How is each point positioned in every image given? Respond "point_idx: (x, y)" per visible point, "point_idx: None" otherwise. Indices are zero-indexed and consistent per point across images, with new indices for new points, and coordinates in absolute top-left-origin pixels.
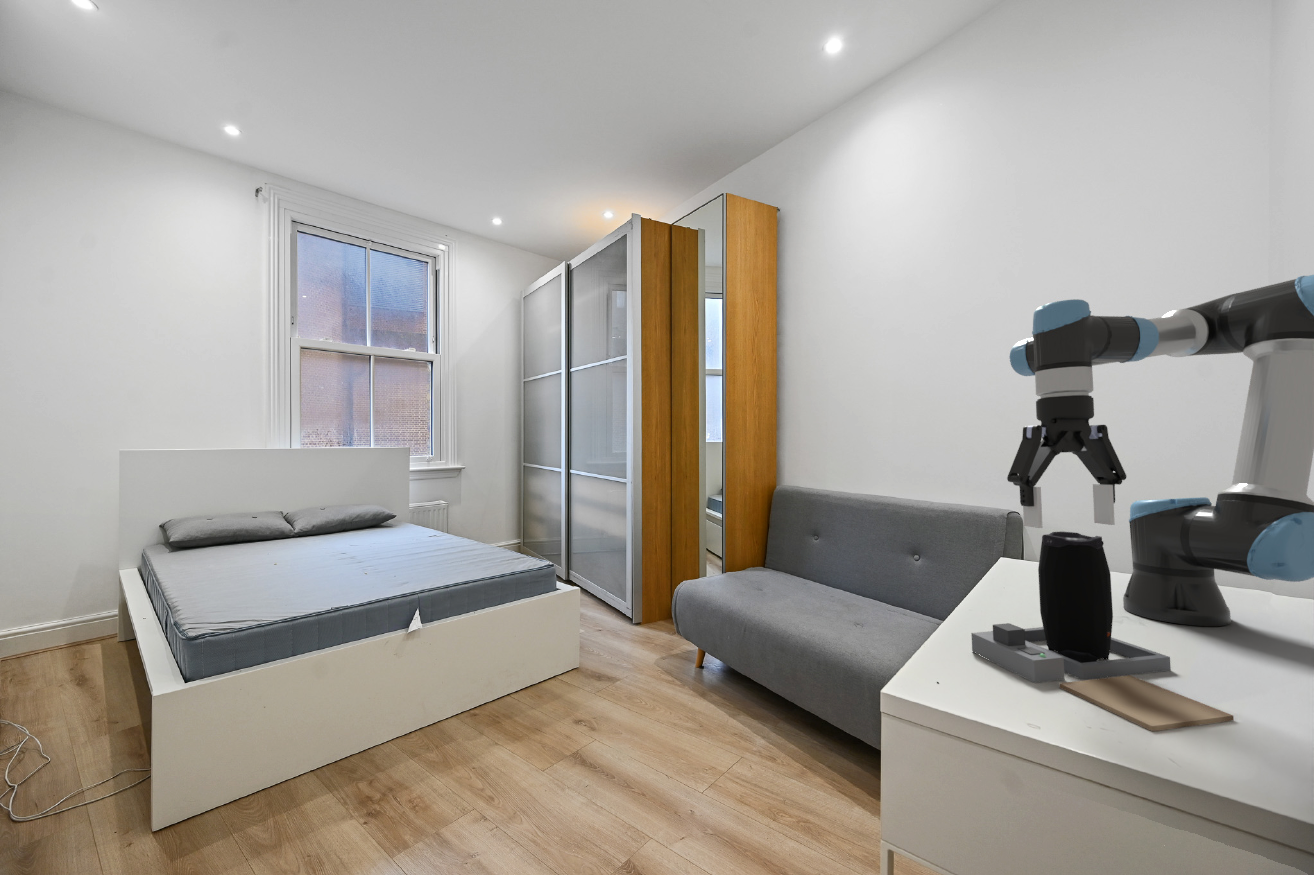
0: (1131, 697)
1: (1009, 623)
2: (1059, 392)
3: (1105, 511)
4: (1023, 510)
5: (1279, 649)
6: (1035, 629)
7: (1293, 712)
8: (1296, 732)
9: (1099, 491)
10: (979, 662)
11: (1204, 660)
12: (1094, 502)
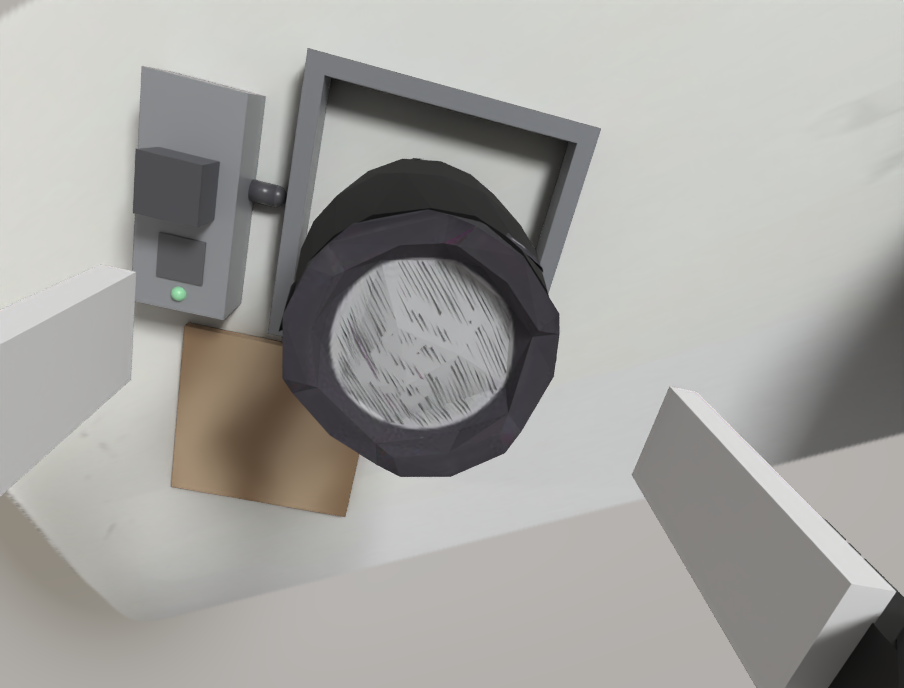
0: (257, 421)
1: (201, 168)
2: None
3: (677, 500)
4: (23, 301)
5: (874, 411)
6: (441, 102)
7: (473, 532)
8: (387, 557)
9: (772, 580)
10: (129, 135)
11: (652, 374)
12: (740, 469)
